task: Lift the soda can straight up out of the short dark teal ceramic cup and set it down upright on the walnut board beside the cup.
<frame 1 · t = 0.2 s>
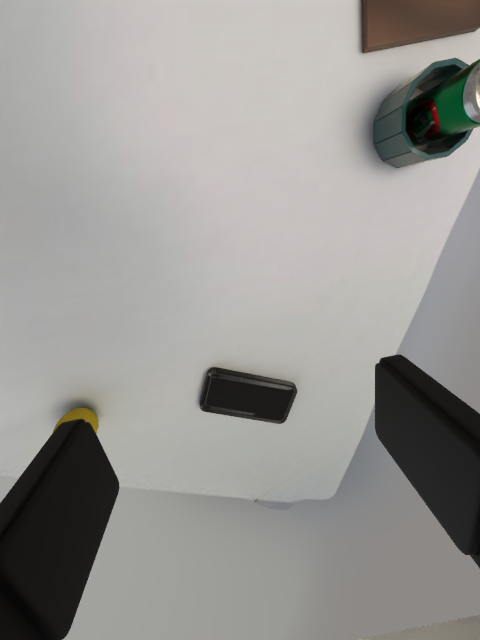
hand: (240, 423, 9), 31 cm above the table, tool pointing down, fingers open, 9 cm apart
phone: (247, 394, 46), on the table
lemon: (88, 410, 45), on the table
soda can: (406, 127, 34), resting in teal cup
teal cup: (407, 127, 34), on the table
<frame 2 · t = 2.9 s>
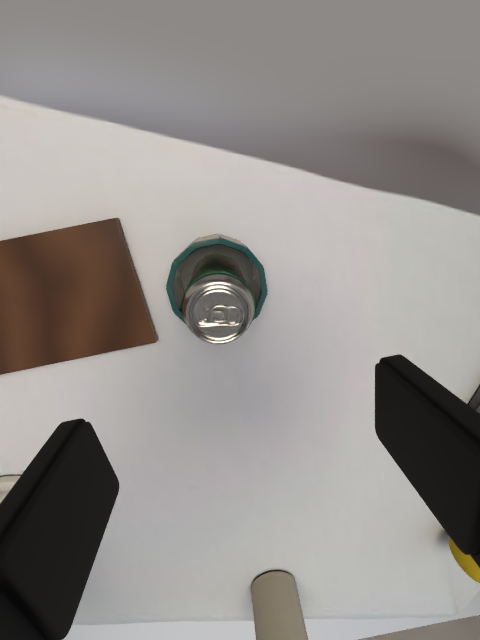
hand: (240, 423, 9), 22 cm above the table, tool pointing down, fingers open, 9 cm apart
travel mug: (272, 581, 49), on the table
walnut board: (45, 302, 29), on the table
lemon: (452, 528, 48), on the table
soda can: (217, 276, 29), resting in teal cup
teal cup: (217, 277, 29), on the table
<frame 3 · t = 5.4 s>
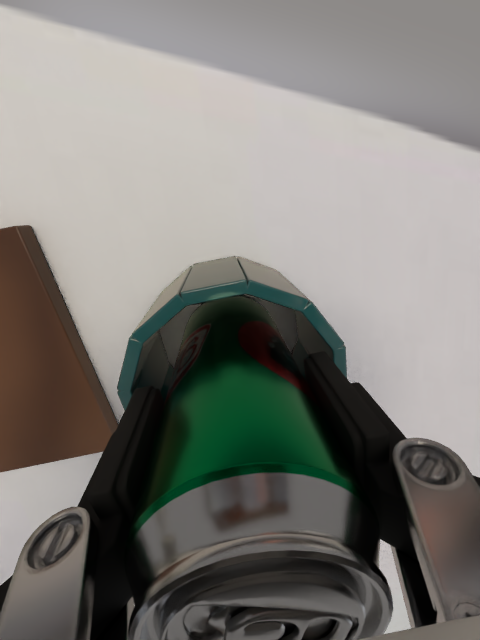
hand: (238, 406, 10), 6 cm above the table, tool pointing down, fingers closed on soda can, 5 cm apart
soda can: (230, 333, 16), resting in teal cup, touching gripper
teal cup: (230, 335, 16), on the table
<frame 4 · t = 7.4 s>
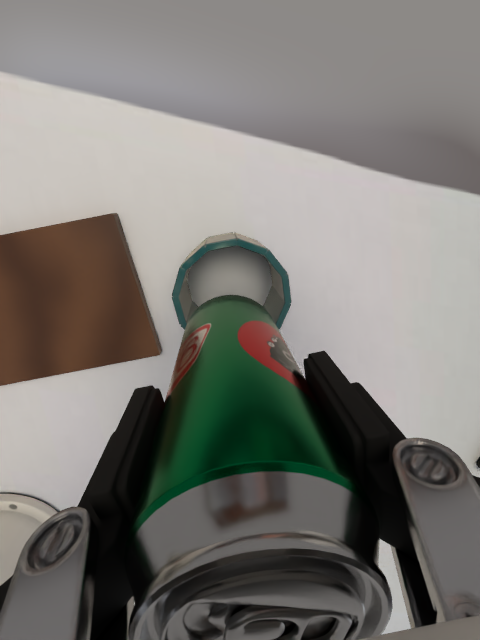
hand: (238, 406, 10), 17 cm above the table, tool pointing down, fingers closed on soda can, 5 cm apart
walnut board: (34, 309, 25), on the table
soda can: (230, 333, 16), point 10 cm above the table, touching gripper
teal cup: (230, 282, 25), on the table
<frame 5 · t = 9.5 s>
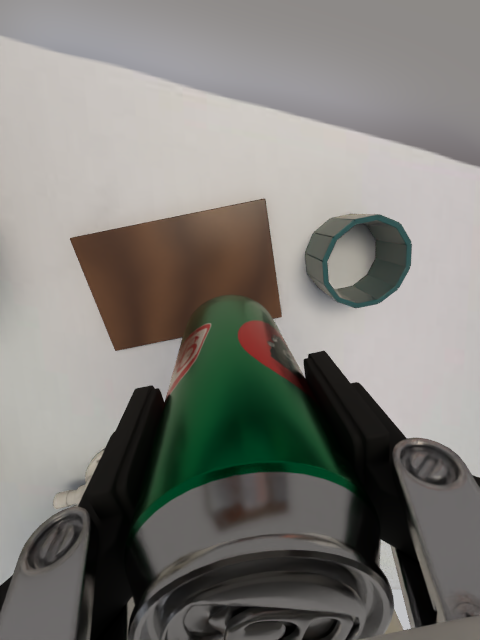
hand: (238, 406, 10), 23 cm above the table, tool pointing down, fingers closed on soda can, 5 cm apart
walnut board: (185, 278, 31), on the table
soda can: (230, 333, 16), point 16 cm above the table, touching gripper
teal cup: (342, 255, 31), on the table
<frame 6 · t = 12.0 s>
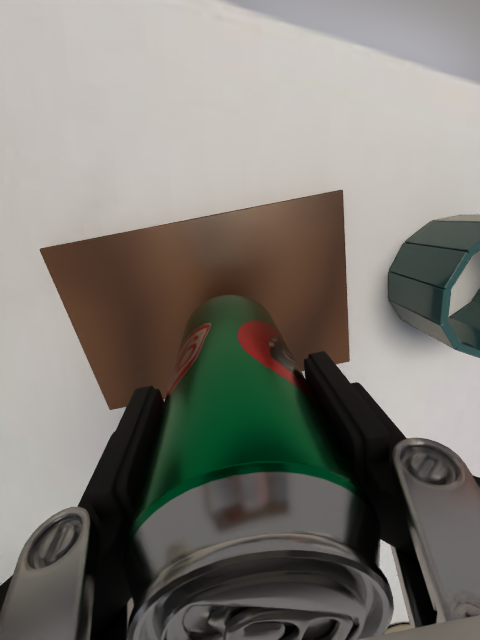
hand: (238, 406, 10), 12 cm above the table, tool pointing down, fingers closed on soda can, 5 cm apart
travel mug: (396, 634, 42), on the table
walnut board: (213, 308, 21), on the table
soda can: (230, 333, 16), point 6 cm above the table, touching gripper
teal cup: (441, 275, 22), on the table
when the fingers open (7 cm above the table, at t = 13.6 s): soda can stays where it is, resting on walnut board.
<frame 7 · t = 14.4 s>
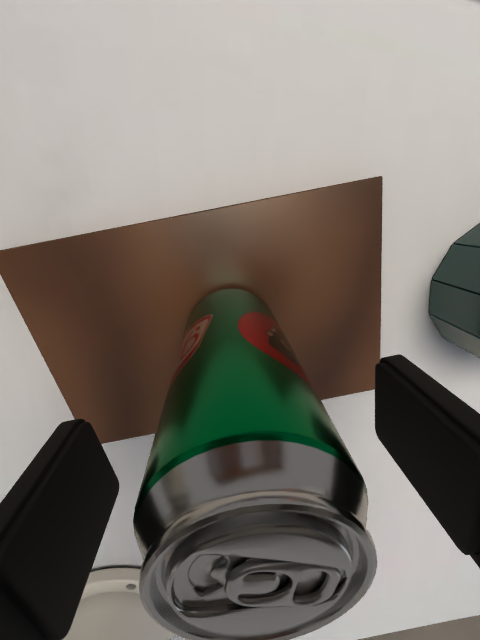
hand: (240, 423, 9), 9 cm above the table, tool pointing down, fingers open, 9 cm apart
walnut board: (214, 324, 17), on the table
soda can: (230, 326, 16), point 1 cm above the table, touching walnut board
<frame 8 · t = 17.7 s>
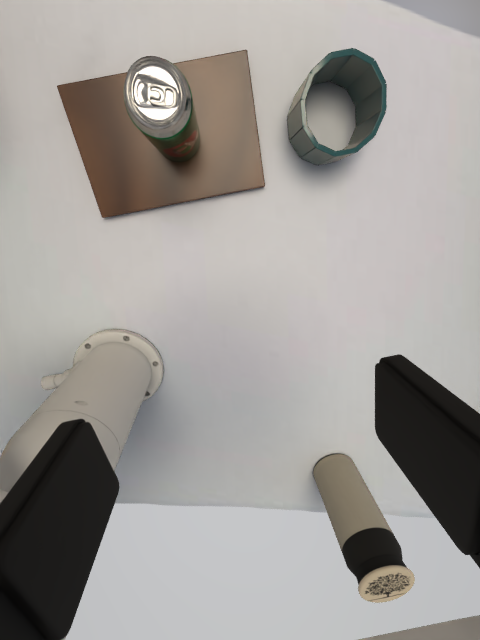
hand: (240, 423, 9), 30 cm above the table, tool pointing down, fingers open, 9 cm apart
travel mug: (332, 467, 53), on the table
walnut board: (170, 141, 32), on the table
soda can: (178, 138, 31), point 1 cm above the table, touching walnut board
teal cup: (323, 122, 32), on the table
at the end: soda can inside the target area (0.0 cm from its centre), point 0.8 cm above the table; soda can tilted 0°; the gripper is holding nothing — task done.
